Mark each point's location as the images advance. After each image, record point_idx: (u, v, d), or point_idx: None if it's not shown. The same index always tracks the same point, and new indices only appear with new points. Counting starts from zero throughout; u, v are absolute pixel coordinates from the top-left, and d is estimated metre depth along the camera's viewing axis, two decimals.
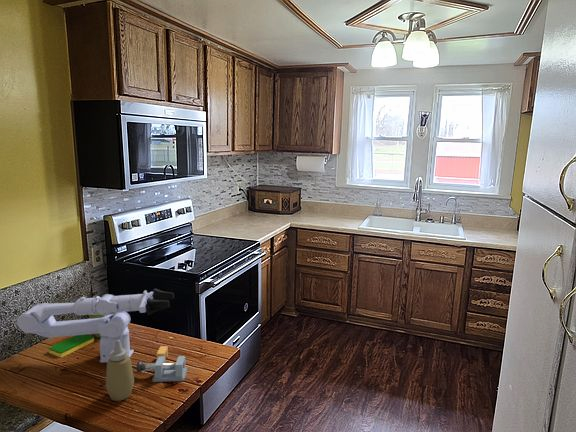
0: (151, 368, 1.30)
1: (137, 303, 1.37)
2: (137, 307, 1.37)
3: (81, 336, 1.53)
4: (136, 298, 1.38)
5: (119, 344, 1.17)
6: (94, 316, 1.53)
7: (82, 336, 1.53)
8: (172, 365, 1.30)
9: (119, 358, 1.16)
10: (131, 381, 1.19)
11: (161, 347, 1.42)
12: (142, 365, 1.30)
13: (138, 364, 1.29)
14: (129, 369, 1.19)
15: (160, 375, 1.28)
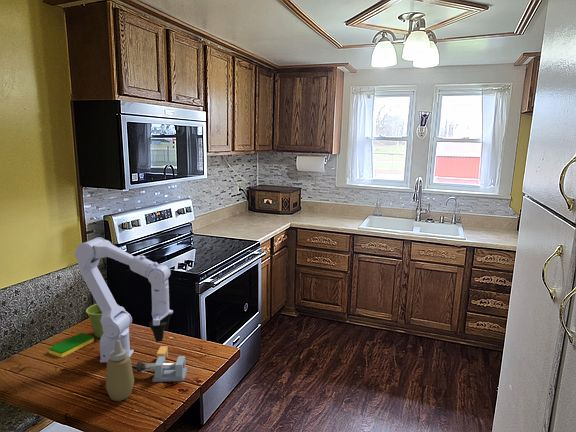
0: (151, 368, 1.30)
1: (160, 309, 1.35)
2: (156, 308, 1.35)
3: (81, 336, 1.53)
4: (166, 306, 1.36)
5: (119, 344, 1.17)
6: (94, 316, 1.53)
7: (82, 336, 1.53)
8: (172, 365, 1.30)
9: (119, 358, 1.16)
10: (131, 381, 1.19)
11: (161, 347, 1.42)
12: (142, 365, 1.30)
13: (138, 364, 1.29)
14: (129, 369, 1.19)
15: (160, 375, 1.28)
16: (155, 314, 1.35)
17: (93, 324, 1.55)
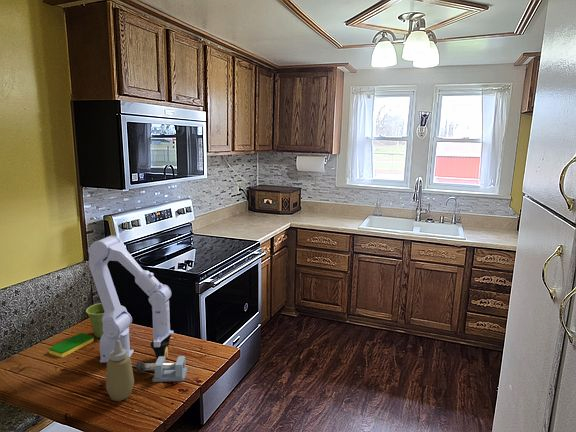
0: (151, 368, 1.30)
1: (161, 331, 1.36)
2: (157, 330, 1.36)
3: (81, 336, 1.53)
4: (167, 327, 1.37)
5: (119, 344, 1.17)
6: (94, 316, 1.53)
7: (82, 336, 1.53)
8: (172, 365, 1.30)
9: (119, 358, 1.16)
10: (131, 381, 1.19)
11: None
12: (142, 365, 1.30)
13: (138, 364, 1.29)
14: (129, 369, 1.19)
15: (160, 375, 1.28)
16: (156, 335, 1.36)
17: (93, 324, 1.55)
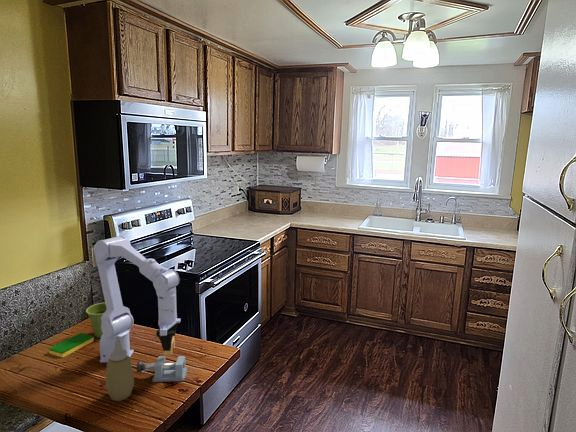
0: (151, 368, 1.30)
1: (167, 318, 1.27)
2: (163, 317, 1.27)
3: (80, 336, 1.53)
4: (173, 315, 1.28)
5: (119, 344, 1.17)
6: (94, 316, 1.53)
7: (81, 336, 1.53)
8: (172, 365, 1.30)
9: (119, 358, 1.16)
10: (131, 381, 1.19)
11: None
12: (142, 365, 1.30)
13: (138, 364, 1.29)
14: (129, 369, 1.19)
15: (160, 375, 1.28)
16: (162, 323, 1.27)
17: (93, 324, 1.55)
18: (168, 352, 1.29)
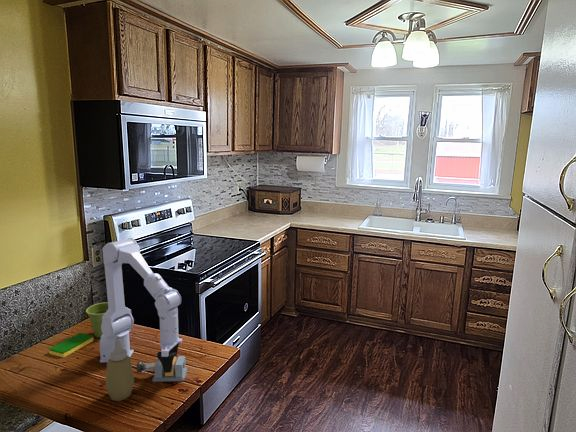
0: (151, 368, 1.30)
1: (169, 339, 1.26)
2: (164, 338, 1.26)
3: (80, 336, 1.53)
4: (175, 335, 1.28)
5: (119, 344, 1.17)
6: (94, 316, 1.53)
7: (81, 336, 1.53)
8: None
9: (119, 358, 1.16)
10: (131, 381, 1.19)
11: None
12: (142, 365, 1.30)
13: (138, 364, 1.29)
14: (129, 369, 1.19)
15: (160, 375, 1.28)
16: (163, 343, 1.27)
17: (93, 324, 1.55)
18: (170, 373, 1.29)
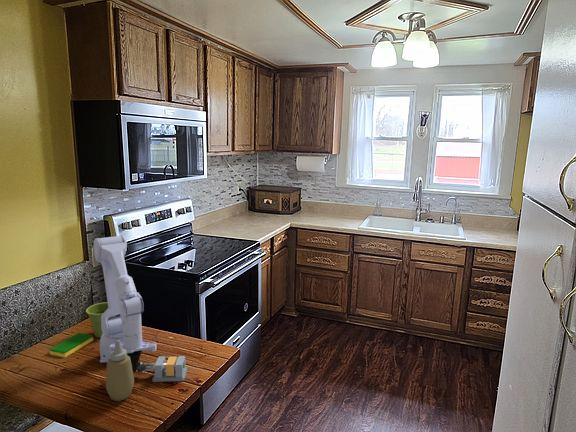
0: (152, 368, 1.30)
1: (123, 341, 1.28)
2: None
3: (79, 336, 1.53)
4: (125, 341, 1.26)
5: (119, 344, 1.17)
6: (94, 316, 1.53)
7: (81, 336, 1.53)
8: None
9: (119, 358, 1.16)
10: (131, 381, 1.19)
11: (170, 358, 1.32)
12: (143, 365, 1.30)
13: (139, 364, 1.29)
14: (129, 369, 1.19)
15: (160, 375, 1.28)
16: None
17: (93, 324, 1.55)
18: (170, 373, 1.29)
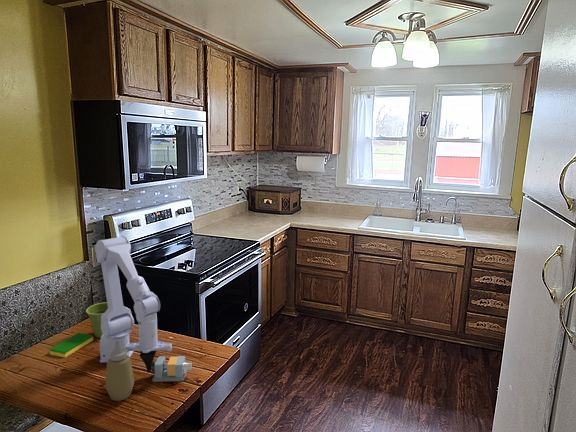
0: (166, 368, 1.30)
1: (139, 340, 1.28)
2: None
3: (79, 336, 1.53)
4: (141, 341, 1.26)
5: (119, 344, 1.17)
6: (94, 316, 1.53)
7: (80, 336, 1.53)
8: (187, 365, 1.31)
9: (119, 358, 1.16)
10: (131, 381, 1.19)
11: (172, 357, 1.32)
12: None
13: (153, 364, 1.30)
14: (129, 369, 1.19)
15: (160, 375, 1.28)
16: None
17: (93, 324, 1.55)
18: (172, 373, 1.29)
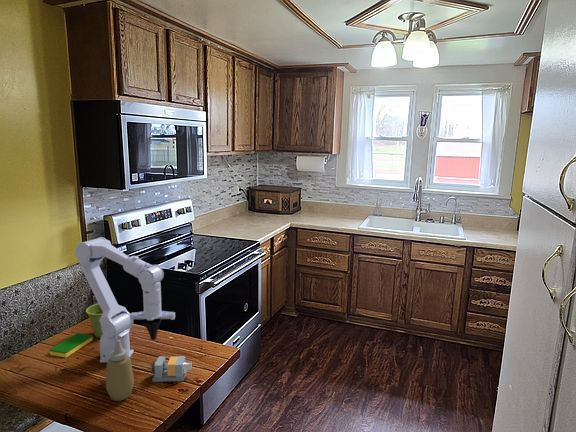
0: (166, 368, 1.30)
1: None
2: None
3: (79, 336, 1.53)
4: (145, 309, 1.32)
5: (119, 344, 1.17)
6: (94, 316, 1.53)
7: (80, 336, 1.53)
8: (187, 365, 1.31)
9: (119, 358, 1.16)
10: (131, 381, 1.19)
11: (172, 357, 1.32)
12: None
13: (153, 364, 1.30)
14: (129, 369, 1.19)
15: (160, 375, 1.28)
16: None
17: (93, 324, 1.55)
18: (172, 373, 1.29)
